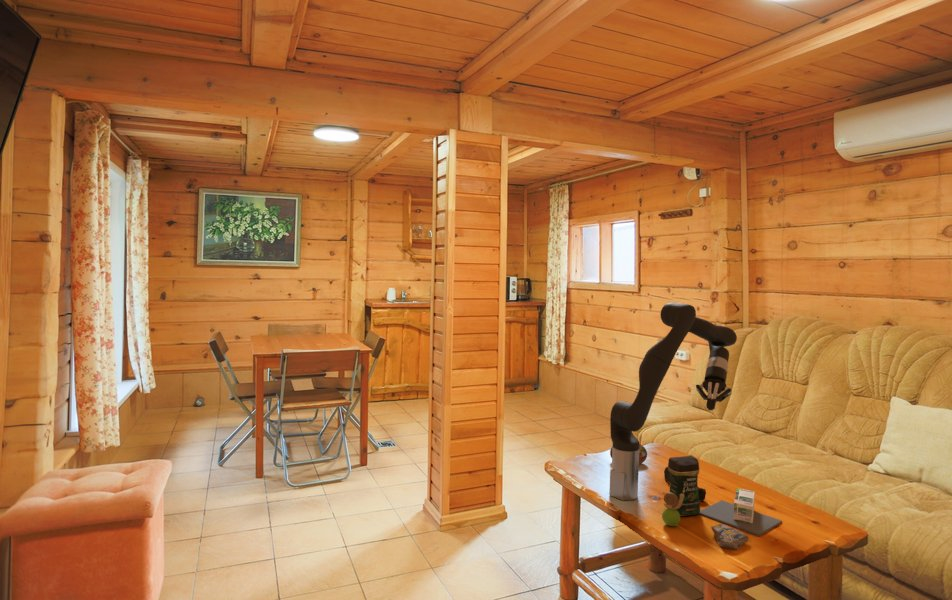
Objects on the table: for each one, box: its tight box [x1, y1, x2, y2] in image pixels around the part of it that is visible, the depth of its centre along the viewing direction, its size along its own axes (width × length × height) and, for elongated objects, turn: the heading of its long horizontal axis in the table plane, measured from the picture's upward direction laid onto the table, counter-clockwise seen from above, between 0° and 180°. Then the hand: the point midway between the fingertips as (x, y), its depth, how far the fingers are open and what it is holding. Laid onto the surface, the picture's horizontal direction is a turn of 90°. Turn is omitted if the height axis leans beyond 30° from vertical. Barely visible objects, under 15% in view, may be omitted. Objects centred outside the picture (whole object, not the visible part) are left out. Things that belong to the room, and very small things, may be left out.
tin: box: [609, 444, 648, 465], centre depth 235 cm, size 15×3×8 cm, turn 90°
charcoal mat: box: [698, 499, 783, 537], centre depth 184 cm, size 16×20×1 cm
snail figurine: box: [661, 490, 685, 527], centre depth 177 cm, size 5×6×12 cm
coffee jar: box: [667, 455, 701, 517], centre depth 187 cm, size 10×8×19 cm
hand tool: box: [663, 466, 707, 502], centre depth 208 cm, size 23×5×6 cm, turn 10°
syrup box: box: [733, 487, 756, 523], centre depth 186 cm, size 6×6×14 cm
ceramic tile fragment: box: [710, 523, 750, 551], centre depth 168 cm, size 12×3×10 cm
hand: (710, 409), depth 207 cm, fingers closed
